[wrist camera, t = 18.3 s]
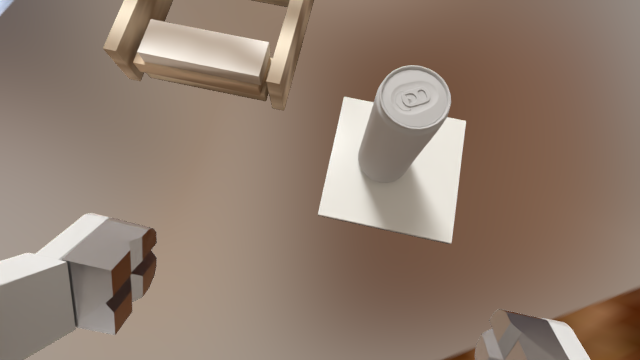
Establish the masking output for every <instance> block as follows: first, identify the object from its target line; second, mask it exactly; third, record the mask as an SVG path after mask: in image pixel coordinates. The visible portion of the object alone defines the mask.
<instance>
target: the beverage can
mask: <svg viewBox="0 0 640 360" xmlns="http://www.w3.org/2000/svg"><path fill="white" fill-rule="evenodd" d="M450 105H451V94H450V91H449V88H448V86H447V84H446V83H445V81H444V80H443V79H442V78H441V77H440V76H439V75H438V74H437V73H436V72H434V71H432V70H430V69H428V68H425V67H422V66H413V65H410V66H404V67H400V68H398V69H396V70H394V71H392V72H391V73H390V74H389V75H387V77H386V78H385V79H384V81H383V82H382V84H381V85H380V86H379V88H378V91H377V94H376V97H375V100H374V103H373V107H372V110H371V113H370V116H369V120H368V123H367V126H366V129H365V133H364V136H363V139H362V142H361V146H360V149H359V152H358V161H359V165H360V167H361V169H362V171H363V172H364V173H365V174H366V175H367V177H369V178H371V179H372V180H374V181H377V182H380V183H389V182H394V181H396V180H397V179H399V178H400V177H401V176H403V175H404V174H405V172H406V171H407V170H408V168H409V167H410V166H411V164H412V163H413V162H414V160H415V159H416V158H417V156H418V155H419V154H420V152H421V151H422V150H423V149H424V147H425V146H426V145H427V144H428V143H429V141H430V140H431V139H432V138H433V136H434V135H435V134H436V132H437V131H438V130H439V128H440V127H441V126H442V124H443V123H444V121H445V119H446V118H447V115H448V112H449V108H450Z"/></svg>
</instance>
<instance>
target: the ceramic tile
mask: <svg viewBox="0 0 640 360" xmlns="http://www.w3.org/2000/svg"><path fill="white" fill-rule="evenodd" d="M372 107H373V102H368V101H363V100H358V99H354V98H348V97H344V100H343V104H342V109H341V113H340V118H339V122H338V127H337V132H336V136H335V140H334V145H333V149H332V154H331V158H330V162H329V167H328V172H327V176H326V180H325V185H324V189H323V194H322V199H321V203H320V207H319V212H318V216H322V217H327V218H332V219H337V220H341V221H345V222H350V223H355V224H359V225H364V226H368V227H373V228H378V229H382V230H387V231H391V232H396V233H401V234H405V235H410V236H414V237H419V238H424V239H428V240H433V241H438V242H442V243H447V244H451V243H452V235H453V227H454V218H455V210H456V201H457V193H458V185H459V175H460V167H461V159H462V151H463V141H464V134H465V126H466V121H462V120H458V119H453V118H448V117H447V118H446V119H445V121H444V123H443V124H442V126H441V127H440V128H439V130H438V131H437V132H436V134H435V135H434V136H433V138H432V139H431V140H430V141H429V143H428V144H427V145H426V146H425V147H424V149H423V150H422V151H421V152H420V154H419V155H418V156H417V158H416V159H415V160H414V162H413V163H412V164H411V166H410V167H409V168H408V170H407V171H406V172H405V174H404V175H403V176H401V177H400V178H399V179H397V180H396V181H394V182H389V183H380V182H377V181H374V180H372V179H371V178H369V177H367V175H366V174H365V173H364V172H363V171H362V169H361V167H360V165H359V161H358V152H359V149H360V146H361V142H362V139H363V136H364V133H365V129H366V126H367V123H368V120H369V116H370V113H371V110H372Z"/></svg>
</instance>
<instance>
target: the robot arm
mask: <svg viewBox="0 0 640 360" xmlns="http://www.w3.org/2000/svg"><path fill="white" fill-rule="evenodd" d="M156 240H157V239H156V231H155V230H154V229H153V228H150V227H146V226H142V225H139V224H135V223H131V222H127V221H123V220H119V219H115V218H109V217H106V216H102V215H98V214H94V213H89V214H85V215H83V216H82V217H81V218H80V219H78V220H77V221H76V222H75V223H73V224H72V225H71V226H69V227H68V228H67V229H66V230H65V231H63V232H62V233H61V234H60V235H58V236H57V237H56V238H54V239H53V240H52V241H51V242H50V243H48V244H47V245H46V246H44V247H43V248H42V249H41V250H39V251H38V252H37V253H36V254H32V253H25V254H21V255H18V256H15V257H12V258H9V259H6V260H2V261H0V360H24V359H26V358H28V357H29V356H31V355H33V354H34V353H36V352H38V351H40V350H41V349H43V348H45V347H46V346H48V345H50V344H52V343H53V342H55V341H57V340H59V339H60V338H62V337H64V336H65V335H67V334H68V333H70V332H72V331H74V330H75V329H76V327H77V328H82V329H88V330H92V331H98V332H102V333H107V334H112V335H116V333H117V332H118V331H119V329H120V328H121V327H122V325H123V324H124V322H125V321H126V319H127V318H128V317H129V316H130V314H131V313H132V302H134V301H136V300H138V299H140V298H142V297H143V296H144V295H145V293H146V292H147V290H148V289H149V287H150V285H151V282H152V280H153V278H154V275H155V270H156V259H157V258H156V257H155V255H154V254H153V252H152V251H151V249H152V248H153V247H154V246H155V244H156V243H157V241H156ZM489 321H490V324H491V327H492V329H490V330H488V331H486V332H484V333H482V334H481V336H480V338H479V340H478V342H477V344H476V350H475V360H590V358H589V356H588V355H587V353H586V352H585V350H584V348H583V347H582V345H581V343H580V342H579V340H578V339H577V337H576V335H575V334H574V332H573V330H572V329H571V327H569V326H568V325H567V324H566V323H564V322H559V321H555V320H550V319H545V318H538V317H534V316H529V315H525V314H520V313H516V312H511V311H507V310H502V309H498V310H497V311H495V312H494V313H493V315H492V317H491V319H490V320H489Z"/></svg>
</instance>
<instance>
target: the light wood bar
mask: <svg viewBox="0 0 640 360" xmlns="http://www.w3.org/2000/svg"><path fill="white" fill-rule="evenodd" d="M270 53H271V51H270V45H269V42H265V41H260V40H255V39H250V38H244V37H240V36H235V35H229V34H225V33H219V32H214V31H209V30H204V29H198V28H194V27H188V26H184V25H179V24H174V23H168V22H163V21H158V20H153V19H150V22H149V24H148V27H147V29H146V32H145V34H144V36H143V39H142V41H141V44H140V46H139V49H138V51H137V54H136V56H135V58H134V61H133V63H134V64H135V66H136V67H137V68H138V70H139V71H140V72H146V73H147V74H148V75H149V77H150V78H154V79H159V80H164V81H169V82H174V83H179V84H184V85H189V86H194V87H198V88H203V89H208V90H213V91H218V92H223V93H228V94H233V95H238V96H242V97H247V98H252V99H257V100H263V101H266V100H267V96H268V93H269V92H268V87H267V83H266V80H267V77H268V73H269V70H270V66H271V63H272V60H273V58H271V57H270Z"/></svg>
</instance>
